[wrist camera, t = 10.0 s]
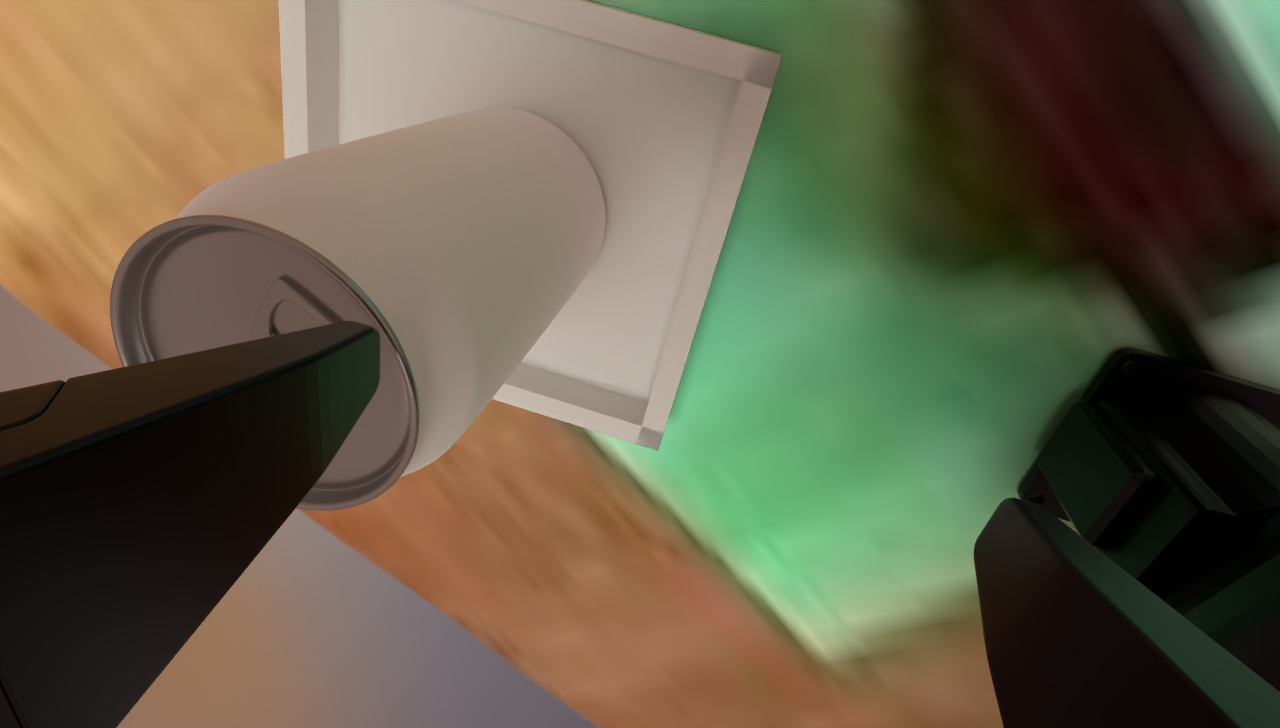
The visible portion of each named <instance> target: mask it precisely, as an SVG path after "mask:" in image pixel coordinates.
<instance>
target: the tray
mask: <svg viewBox="0 0 1280 728" xmlns="http://www.w3.org/2000/svg"><path fill="white" fill-rule="evenodd" d="M279 24H280V49H281V74H282V99H283V125H284V150H285V159H287V158H290V157H294V156H298V155H301V154H305V153H309V152H312V151H316V150H320V149H324V148H328V147H331V146H335V145H339V144H343V143H346V142H350V141H354V140H358V139H362V138H365V137H369V136H373V135H377V134H381V133H385V132H388V131H392V130H396V129H400V128H404V127H408V126H412V125H415V124H419V123H423V122H427V121H431V120H435V119H439V118H443V117H447V116H451V115H455V114H459V113H463V112H468V111H472V110H477V109H482V108H491V107H505V108H514V109H519V110H523V111H526V112H529V113H532V114H535V115H537V116H539V117H541V118H543V119H545V120H547V121H549V122H550V123H552V124H553V125H555V126H556V127H558V128H559V129H560V130H562V131H563V132H564V133H565V134H566V135H568V136H569V137H570V138H571V139H572V140H573V141H574V142H575V144H576V145H577V146H578V147H579V148H580V149H581V151H582V152H583V153H584V155H585V156H586V158H587V159H588V161H589V163H590V164H591V166H592V168H593V170H594V172H595V174H596V176H597V179H598V181H599V184H600V187H601V190H602V194H603V199H604V204H605V215H606V224H605V234H604V239H603V244H602V247H601V250H600V253H599V255H598V258H597V260H596V262H595V264H594V266H593V267H592V269H591V270H590V272H589V273H588V275H587V276H586V278H585V279H584V280H583V282H582V283H581V285H580V286H579V287H578V289H577V290H576V291H575V293H574V294H573V295H572V296H571V298H570V299H569V300H568V302H567V303H566V304H565V306H564V307H563V308H562V310H561V311H560V312H559V313H558V315H557V316H556V317H555V319H554V320H553V321H552V323H551V324H550V325H549V326H548V328H547V329H546V330H545V332H544V333H543V334H542V335H541V337H540V338H539V339H538V341H537V342H536V343H535V344H534V346H533V347H532V348H531V350H530V351H529V352H528V353H527V355H526V356H525V357H524V359H523V360H522V361H521V362H520V364H519V365H518V366H517V368H516V369H515V370H514V371H513V373H512V374H511V375H510V376H509V378H508V379H507V380H506V382H505V383H504V384H503V385H502V387H501V388H500V389H499V390H498V392H497V393H496V394H495V396H494V397H493V398H492V399H494V400H497V401H500V402H503V403H507V404H510V405H513V406H516V407H519V408H523V409H526V410H529V411H532V412H535V413H539V414H542V415H545V416H548V417H551V418H555V419H558V420H561V421H564V422H567V423H571V424H574V425H577V426H580V427H583V428H587V429H590V430H593V431H596V432H599V433H603V434H606V435H609V436H612V437H615V438H619V439H622V440H625V441H628V442H631V443H635V444H638V445H641V446H644V447H647V448H651V449H654V450H657V451H658V449H659V446H660V443H661V439H662V436H663V433H664V430H665V427H666V424H667V420H668V417H669V414H670V411H671V408H672V405H673V401H674V398H675V395H676V392H677V389H678V385H679V382H680V379H681V376H682V373H683V370H684V366H685V363H686V360H687V357H688V354H689V351H690V347H691V344H692V341H693V338H694V335H695V332H696V328H697V325H698V322H699V319H700V316H701V312H702V309H703V306H704V303H705V300H706V297H707V293H708V290H709V287H710V284H711V281H712V278H713V274H714V271H715V268H716V265H717V262H718V259H719V255H720V252H721V249H722V246H723V243H724V239H725V236H726V233H727V230H728V227H729V224H730V220H731V217H732V214H733V211H734V208H735V205H736V201H737V198H738V195H739V192H740V189H741V186H742V182H743V179H744V176H745V173H746V170H747V166H748V163H749V160H750V157H751V154H752V151H753V147H754V144H755V141H756V138H757V135H758V132H759V128H760V125H761V122H762V119H763V116H764V113H765V109H766V106H767V103H768V100H769V97H770V93H771V90H772V87H773V84H774V81H775V78H776V74H777V71H778V68H779V65H780V62H781V59H782V53H778V52H775V51H771V50H767V49H764V48H760V47H757V46H753V45H749V44H746V43H742V42H738V41H735V40H731V39H728V38H724V37H720V36H717V35H713V34H709V33H706V32H702V31H699V30H695V29H691V28H688V27H684V26H680V25H677V24H673V23H670V22H666V21H662V20H659V19H655V18H651V17H648V16H644V15H641V14H637V13H633V12H630V11H626V10H623V9H619V8H615V7H612V6H608V5H604V4H601V3H597V2H594V1H590V0H279Z"/></svg>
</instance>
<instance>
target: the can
mask: <svg viewBox="0 0 1280 728" xmlns="http://www.w3.org/2000/svg"><path fill="white" fill-rule="evenodd" d="M605 224H606V215H605V204H604V199H603V194H602V190H601V187H600V184H599V181H598V179H597V176H596V174H595V172H594V170H593V168H592V166H591V164H590V163H589V161H588V159H587V158H586V156H585V155H584V153H583V152H582V151H581V149H580V148H579V147H578V146H577V145H576V144H575V142H574V141H573V140H572V139H571V138H570V137H569V136H568V135H566V134H565V133H564V132H563V131H562V130H560V129H559V128H558V127H556V126H555V125H553V124H552V123H550V122H549V121H547V120H545V119H543V118H541V117H539V116H537V115H535V114H532V113H529V112H526V111H523V110H519V109H514V108H505V107H491V108H482V109H477V110H472V111H468V112H463V113H459V114H455V115H451V116H447V117H443V118H439V119H435V120H431V121H427V122H423V123H419V124H415V125H412V126H408V127H404V128H400V129H396V130H392V131H388V132H385V133H381V134H377V135H373V136H369V137H365V138H362V139H358V140H354V141H350V142H346V143H343V144H339V145H335V146H331V147H328V148H324V149H320V150H316V151H312V152H309V153H305V154H301V155H298V156H294V157H290V158H287V159H283V160H280V161H276V162H272V163H269V164H265V165H262V166H259V167H255V168H252V169H249V170H246V171H243V172H240V173H237V174H234V175H232V176H230V177H227V178H225V179H223V180H221V181H218V182H216V183H214V184H212V185H211V186H209V187H207V188H206V189H204V190H203V191H202V192H200V193H199V194H198V195H197V196H196V197H194V198H193V199H192V200H191V201H190V202H189V203H188V204H187V205H186V206H185V207H184V209H183V210H182V211H181V212H180V213H179V214H178V216H177V217H176V218H175V219H174V220H171V221H168V222H165V223H163V224H160V225H158V226H156V227H154V228H153V229H151V230H149V231H148V232H146V233H145V234H144V235H142V236H141V237H140V238H139V239H137V240H136V241H135V242H134V243H133V244H132V246H131V247H130V248H129V249H128V251H127V252H126V253H125V255H124V257H123V258H122V260H121V262H120V264H119V266H118V268H117V271H116V273H115V276H114V280H113V284H112V289H111V297H110V318H111V326H112V332H113V337H114V341H115V345H116V348H117V352H118V355H119V358H120V360H121V363H122V365H123V367H126V366H131V365H136V364H141V363H146V362H150V361H155V360H160V359H165V358H170V357H174V356H179V355H184V354H189V353H194V352H199V351H203V350H208V349H213V348H218V347H223V346H227V345H232V344H237V343H242V342H247V341H252V340H256V339H261V338H266V337H271V336H276V335H280V334H285V333H290V332H295V331H300V330H304V329H309V328H314V327H319V326H324V325H329V324H333V323H338V322H343V321H355V322H358V323H362V324H366V325H369V326H373V327H375V328H376V329H377V330H378V331H379V334H380V381H379V385H378V388H377V390H376V392H375V394H374V396H373V397H372V399H371V401H370V402H369V404H368V405H367V407H366V408H365V410H364V412H363V413H362V415H361V416H360V418H359V419H358V421H357V422H356V424H355V426H354V427H353V429H352V430H351V432H350V433H349V435H348V437H347V438H346V440H345V441H344V443H343V444H342V446H341V448H340V449H339V451H338V452H337V454H336V455H335V457H334V459H333V460H332V462H331V463H330V464H329V466H328V467H327V469H326V470H325V472H324V473H323V475H322V476H321V477H320V478H319V480H318V481H317V482H316V484H315V485H314V486H313V487H312V489H311V490H310V491H309V492H308V494H307V495H306V496H305V497H304V498H303V500H302V501H301V502H300V503H299V505H298V506H297V507H296V508H298V509H305V510H321V511H326V510H339V509H345V508H350V507H354V506H357V505H361V504H363V503H366V502H368V501H370V500H372V499H374V498H376V497H378V496H379V495H381V494H382V493H384V492H385V491H387V490H388V489H389V488H390V487H391V486H392V485H393V484H394V483H395V482H396V481H397V480H398V479H399V478H400V477H401V476H404V475H407V474H409V473H412V472H414V471H417V470H419V469H421V468H423V467H425V466H427V465H428V464H430V463H432V462H433V461H435V460H436V459H438V458H439V457H440V456H442V455H443V454H444V453H445V452H446V451H447V450H448V449H449V448H450V447H451V446H453V445H454V444H455V443H456V442H457V441H458V439H459V438H460V437H461V436H462V435H463V434H464V432H465V431H466V430H467V429H468V428H469V427H470V425H471V424H472V423H473V422H474V421H475V419H476V418H477V417H478V416H479V414H480V413H481V412H482V411H483V409H484V408H485V407H486V406H487V404H488V403H489V402H490V401H491V399H492V398H493V397H494V396H495V394H496V393H497V392H498V390H499V389H500V388H501V387H502V385H503V384H504V383H505V382H506V380H507V379H508V378H509V376H510V375H511V374H512V373H513V371H514V370H515V369H516V368H517V366H518V365H519V364H520V362H521V361H522V360H523V359H524V357H525V356H526V355H527V353H528V352H529V351H530V350H531V348H532V347H533V346H534V344H535V343H536V342H537V341H538V339H539V338H540V337H541V335H542V334H543V333H544V332H545V330H546V329H547V328H548V326H549V325H550V324H551V323H552V321H553V320H554V319H555V317H556V316H557V315H558V313H559V312H560V311H561V310H562V308H563V307H564V306H565V304H566V303H567V302H568V300H569V299H570V298H571V296H572V295H573V294H574V293H575V291H576V290H577V289H578V287H579V286H580V285H581V283H582V282H583V280H584V279H585V278H586V276H587V275H588V273H589V272H590V270H591V269H592V267H593V266H594V264H595V262H596V260H597V258H598V255H599V253H600V250H601V247H602V244H603V239H604V234H605Z"/></svg>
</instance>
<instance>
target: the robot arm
mask: <svg viewBox="0 0 1280 728" xmlns="http://www.w3.org/2000/svg"><path fill="white" fill-rule="evenodd" d="M1132 360H1134V361H1135V363H1134V365H1133V366H1131V367H1130V368H1127V369H1122V368H1123V365H1124V364H1125V363H1127V362H1129V361H1132ZM379 381H380V334H379V331H378V330H377V329H376V328H375V327H373V326H369V325H366V324H362V323H358V322H355V321H343V322H338V323H333V324H329V325H324V326H319V327H314V328H309V329H304V330H300V331H295V332H290V333H285V334H280V335H276V336H271V337H266V338H261V339H256V340H252V341H247V342H242V343H237V344H232V345H227V346H223V347H218V348H213V349H208V350H203V351H199V352H194V353H189V354H184V355H179V356H174V357H170V358H165V359H160V360H155V361H150V362H146V363H141V364H136V365H131V366H126V367H122V368H117V369H112V370H107V371H102V372H97V373H93V374H88V375H84V376H78V377H73V378H69V379H68V380H67V382H64V381H61V380H58V381H53V382H48V383H44V384H39V385H34V386H29V387H25V388H20V389H14V390H9V391H4V392H0V728H116V727H117V726H118V725H119V724H120V722H121V721H122V720H123V719H124V718H125V716H126V715H127V714H128V713H129V712H130V710H131V709H132V708H133V706H134V705H135V704H136V703H137V702H138V700H139V699H140V698H141V697H142V696H143V694H144V693H145V692H146V691H147V689H148V688H149V687H150V686H151V685H152V683H153V682H154V681H155V680H156V678H157V677H158V676H159V675H160V674H161V672H162V671H163V670H164V669H165V667H166V666H167V665H168V664H169V663H170V661H171V660H172V659H173V658H174V656H175V655H176V654H177V653H178V652H179V650H180V649H181V648H182V647H183V645H184V644H185V643H186V642H187V640H188V639H189V638H190V637H191V635H192V634H193V633H194V632H195V631H196V629H197V628H198V627H199V626H200V625H201V623H202V622H203V621H204V620H205V618H206V617H207V616H208V615H209V614H210V612H211V611H212V610H213V608H214V607H215V606H216V605H217V604H218V602H219V601H220V600H221V599H222V597H223V596H224V595H225V594H226V593H227V591H228V590H229V589H230V588H231V586H232V585H233V584H234V583H235V582H236V580H237V579H238V578H239V577H240V576H241V574H242V573H243V572H244V571H245V569H246V568H247V567H248V566H249V565H250V563H251V562H252V561H253V560H254V558H255V557H256V556H257V555H258V554H259V552H260V551H261V550H262V549H263V547H264V546H265V545H266V544H267V542H268V541H269V540H270V539H271V538H272V536H273V535H274V534H275V533H276V531H277V530H278V529H279V528H280V526H281V525H282V524H283V523H284V522H285V520H286V519H287V518H288V517H289V516H290V514H291V513H292V512H293V511H294V509H295V508H296V507H297V506H298V505H299V503H300V502H301V501H302V500H303V498H304V497H305V496H306V495H307V494H308V492H309V491H310V490H311V489H312V487H313V486H314V485H315V484H316V482H317V481H318V480H319V478H320V477H321V476H322V475H323V473H324V472H325V470H326V469H327V467H328V466H329V464H330V463H331V462H332V460H333V459H334V457H335V455H336V454H337V452H338V451H339V449H340V448H341V446H342V444H343V443H344V441H345V440H346V438H347V437H348V435H349V433H350V432H351V430H352V429H353V427H354V426H355V424H356V422H357V421H358V419H359V418H360V416H361V415H362V413H363V412H364V410H365V408H366V407H367V405H368V404H369V402H370V401H371V399H372V397H373V396H374V394H375V392H376V390H377V388H378V385H379ZM1036 462H1037V463H1036V464H1035V466H1034V467H1033V469H1032V470H1031V472H1030V473H1029V475H1028V476H1027V477H1026V479H1025V480H1024V482H1023V483H1022V485H1021V486H1020V488H1019V490H1018V496H1019V498H1020V499H1017V498H1007V499H1005V500H1004V501H1002V502H1001V503H1000V505H999V506H998V507H997V509H996V510H995V512H994V514H993V515H992V517H991V518H990V520H989V521H988V523H987V524H986V526H985V527H984V529H983V530H982V532H981V533H980V535H979V536H978V538H977V540H976V543H975V547H974V563H975V570H976V578H977V586H978V594H979V602H980V610H981V617H982V625H983V633H984V641H985V647H986V653H987V659H988V663H989V668H990V673H991V677H992V681H993V685H994V690H995V694H996V698H997V702H998V706H999V710H1000V714H1001V718H1002V722H1003V727H1004V728H1280V391H1279V390H1276V389H1272V388H1269V387H1266V386H1262V385H1259V384H1255V383H1252V382H1249V381H1245V380H1242V379H1238V378H1235V377H1231V376H1228V375H1225V374H1221V373H1218V372H1214V371H1211V370H1207V369H1204V368H1201V367H1197V366H1194V365H1190V364H1187V363H1183V362H1180V361H1177V360H1173V359H1170V358H1166V357H1163V356H1160V355H1156V354H1153V353H1149V352H1146V351H1142V350H1139V349H1136V348H1124V349H1121V350H1119V351H1117V352H1115V353H1114V354H1113V355H1112V356H1111V357H1110V358H1109V359H1108V361H1107V362H1106V364H1105V365H1104V367H1103V368H1102V369H1101V371H1100V372H1099V374H1098V375H1097V377H1096V378H1095V380H1094V381H1093V382H1092V384H1091V385H1090V387H1089V388H1088V390H1087V391H1086V393H1085V394H1084V395H1083V397H1082V398H1081V400H1080V401H1078V402H1077V403H1075V404H1074V405H1073V406H1072V408H1071V409H1070V411H1069V412H1068V414H1067V415H1066V417H1065V418H1064V419H1063V421H1062V422H1061V424H1060V425H1059V427H1058V428H1057V430H1056V431H1055V432H1054V434H1053V435H1052V437H1051V438H1050V440H1049V441H1048V443H1047V444H1046V445H1045V447H1044V448H1043V450H1042V451H1041V453H1040V454H1039V456H1038V457H1037V459H1036ZM1035 493H1041V494H1040V495H1038V496H1037V497H1030V496H1031V495H1032V494H1035ZM1058 518H1060V519H1064V520H1067V521H1070V522H1072V524H1073V526H1074V527H1075V529H1076V531H1077V532H1078V534H1079V535H1078V534H1077V533H1076V532H1074V531H1073V530H1072V529H1071V528H1069V527H1068V526H1067V525H1066V524H1064V523H1063V522H1062V521H1060V520H1059V519H1058Z"/></svg>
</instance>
